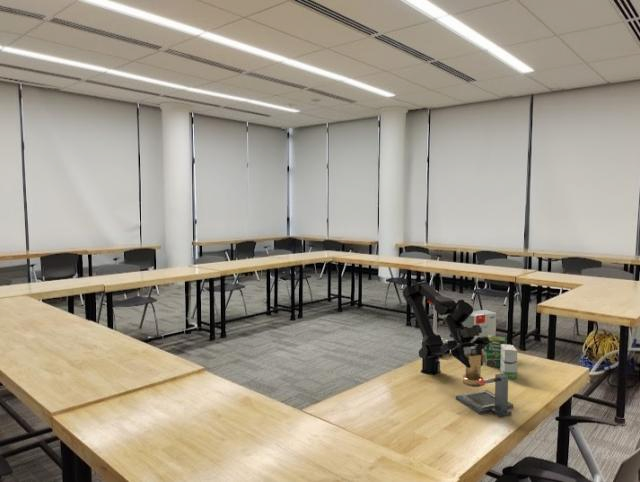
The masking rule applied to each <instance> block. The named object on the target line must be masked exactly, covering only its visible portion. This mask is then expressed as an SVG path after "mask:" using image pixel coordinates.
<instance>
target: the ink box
mask: <svg viewBox="0 0 640 482" xmlns="http://www.w3.org/2000/svg"><path fill="white" fill-rule="evenodd" d="M499 369H500V374H501V373H502V374H505V375H507V376H508V380H509V379H511V380H512V379H513V380H517V378H518V376H517V374H518V350H517V349H516V347H515V346H514V345H513V344H507V343H506V344H501V364H500V367H499Z"/></svg>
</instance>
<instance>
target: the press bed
mask: <svg viewBox="0 0 640 482" xmlns="http://www.w3.org/2000/svg"><path fill="white" fill-rule="evenodd" d="M492 383H494V384H495V385H494V393H493V392H491V391H489V390H487V389H486V390H480V391H476V392H469V393H465V394H458V395H455V400H456V401H458V402H460V403H461V404H463V405H464V406H465V407H467V408H469V409H470V410H472V411H473V412H475V413H477V414H478V415H484V414H485V415H486V414H489V413H491V414H493V415H494V416H495V417H498V418H503V417H510V416H512V411H511V409H513V408H514V404H513V403H511V402H509V400H508V399H509V397H508V396H509V379H508V376H507V375H505V374H502V373H501V372H500V373H495V376H494V378H493V377H492V378H488V379H484V378H483V379H479V380H478V384H479V385H480V387H483V386H485V385H486V384H492Z"/></svg>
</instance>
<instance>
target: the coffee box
mask: <svg viewBox="0 0 640 482" xmlns="http://www.w3.org/2000/svg"><path fill="white" fill-rule="evenodd" d="M486 337H488V338H489V340H490V343H489V344H488V345H487V346H486V356H485V360H486V362H485V364H486V365H485V366H489V367H495V368H500V364H501V344H506V345H507V337H505V336H498V335H497V336H490V335H487V336H486Z"/></svg>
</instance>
